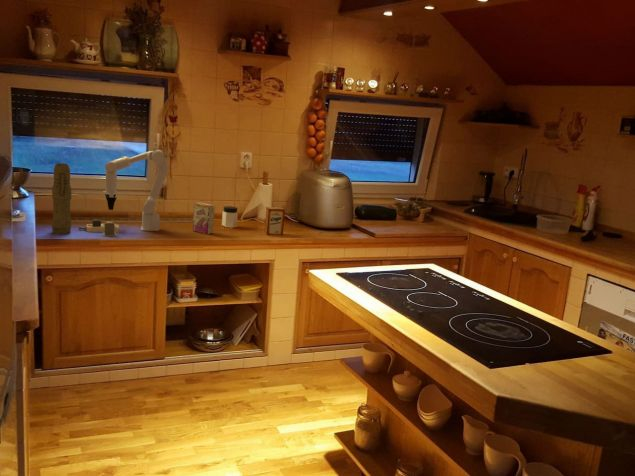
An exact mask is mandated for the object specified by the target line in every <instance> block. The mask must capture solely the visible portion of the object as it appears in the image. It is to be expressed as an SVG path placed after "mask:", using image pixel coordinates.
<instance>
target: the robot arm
mask: <svg viewBox="0 0 635 476" xmlns="http://www.w3.org/2000/svg"><path fill="white" fill-rule="evenodd" d="M144 160H147V161H152V162H153V163H155V165H156V166H157V168H158V172H157V175H156V177H155V180H154V181H153V182H154V183H153V185H152V187H151V190H150V193H149V196H147V197H148V198H147V200H146V201H145V203H144V204H143V205H142V213H141V214H142V215H141V218H142V219H141V226H140V230H141V231H149V232H150V231H154V232H155V231H156V232H159V231H160V227H161V225H160V224H161V222H160V221H161V219H160V218H161V217H160V216H161V215H160V214H159V213H157V212H156V211H155V210H156V208H157V200H158V197H159V195H160V192H161V189H162V187H163V185H164V181H165V180H166V177H167V174H168V171H169V163H168V159H167V155H166V154H165V153H164V151H163V150H161V149H156V150H150V151H145V152H143V153H140V154H137V155H135V156H131V157H129V156H124V155H122V156H121V157H120V158H117V159H112V160H111V161H108V162H107V163H106V164H105V166H104V167H105V183H104V184H105V186H104V187H105V188H104V190H103V191H102V193H103V194H104V195H105V199H106V201H107V208H108V210H109V211H113V210H114V208H115V203H116V200H117V196H116V195H117V194H118V192H117V186H118V185H117V182H118V181H117V180H118V175H117V174H118V173H117V172H118V171H120V170H124V169H126V168H130V167H131V166H132V164H134V163H138V162H141V161H144ZM117 170H118V171H117Z"/></svg>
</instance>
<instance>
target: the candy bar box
mask: <svg viewBox="0 0 635 476" xmlns="http://www.w3.org/2000/svg"><path fill="white" fill-rule="evenodd" d="M214 220H215V205H214V204H211V203H206V202H205V203H204V202H202V201H201V202H200V201H199V202H194V205H193V220H192V221H193V223H192V232H195V231H197V232H196V233H199V232H201V233H200V234H203V233H205V234H204V235H207V234H209V235H211V234H210V233H213V234H214V223H215V222H214Z"/></svg>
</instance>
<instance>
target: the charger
mask: <svg viewBox="0 0 635 476" xmlns="http://www.w3.org/2000/svg"><path fill="white" fill-rule="evenodd" d="M104 224H105V235H114V233H115V232H114V224H115V222H114V221H104Z"/></svg>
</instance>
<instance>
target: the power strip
mask: <svg viewBox="0 0 635 476" xmlns="http://www.w3.org/2000/svg"><path fill="white" fill-rule="evenodd" d="M92 224H93V223H87V224H86V227H85V226H84V227H83V226H78V230H86V233H102V232H105V223H101V226H93V225H92ZM119 226H120V225H119V224H116V223H114V233H120V227H119Z"/></svg>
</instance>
